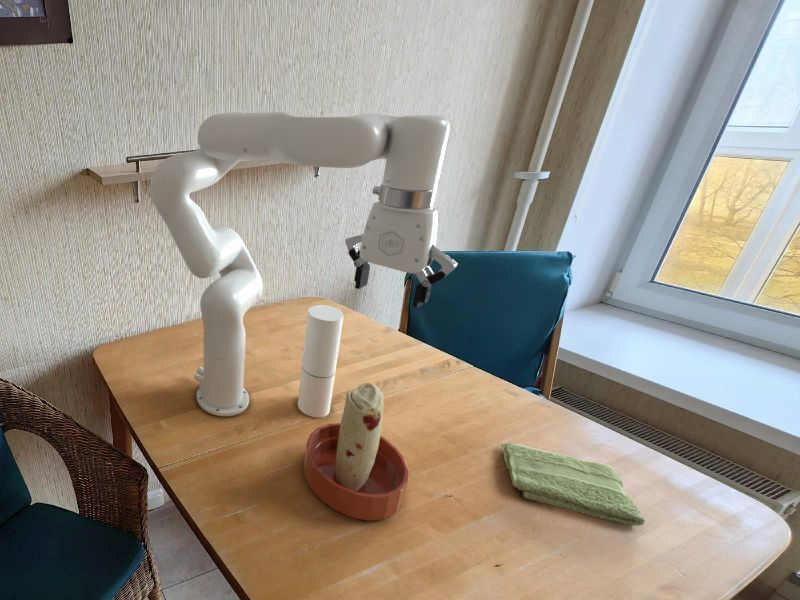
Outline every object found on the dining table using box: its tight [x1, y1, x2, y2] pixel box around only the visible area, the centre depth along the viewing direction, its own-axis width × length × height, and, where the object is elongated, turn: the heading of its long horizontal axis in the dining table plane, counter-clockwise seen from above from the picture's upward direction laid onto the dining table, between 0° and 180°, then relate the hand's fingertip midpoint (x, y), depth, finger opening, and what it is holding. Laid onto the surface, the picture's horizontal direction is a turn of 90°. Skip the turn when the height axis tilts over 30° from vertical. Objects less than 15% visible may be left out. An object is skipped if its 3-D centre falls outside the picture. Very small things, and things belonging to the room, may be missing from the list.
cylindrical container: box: [297, 304, 345, 418], centre depth 96 cm, size 7×7×25 cm
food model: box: [335, 382, 385, 492], centre depth 77 cm, size 10×7×20 cm
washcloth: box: [501, 442, 646, 527], centre depth 78 cm, size 13×18×3 cm
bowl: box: [303, 422, 410, 521], centre depth 80 cm, size 17×17×6 cm
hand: (388, 295), depth 73 cm, fingers open, 9 cm apart
